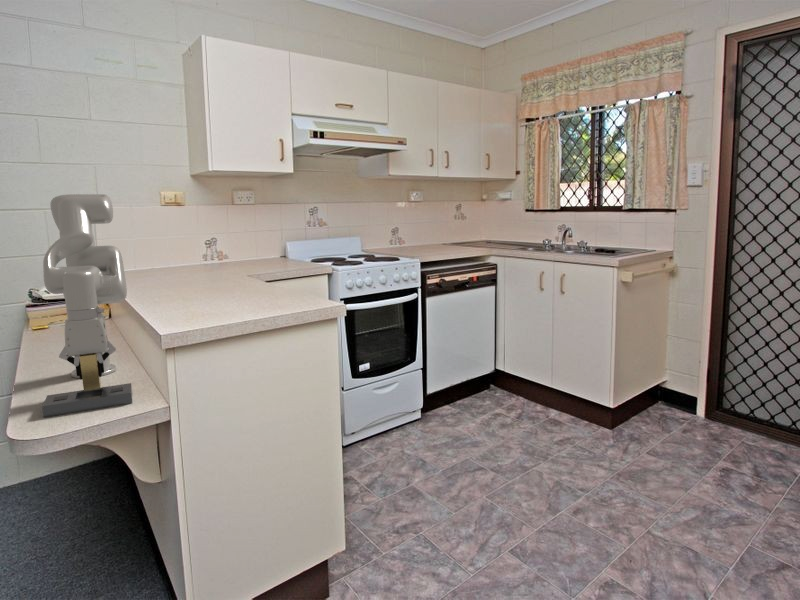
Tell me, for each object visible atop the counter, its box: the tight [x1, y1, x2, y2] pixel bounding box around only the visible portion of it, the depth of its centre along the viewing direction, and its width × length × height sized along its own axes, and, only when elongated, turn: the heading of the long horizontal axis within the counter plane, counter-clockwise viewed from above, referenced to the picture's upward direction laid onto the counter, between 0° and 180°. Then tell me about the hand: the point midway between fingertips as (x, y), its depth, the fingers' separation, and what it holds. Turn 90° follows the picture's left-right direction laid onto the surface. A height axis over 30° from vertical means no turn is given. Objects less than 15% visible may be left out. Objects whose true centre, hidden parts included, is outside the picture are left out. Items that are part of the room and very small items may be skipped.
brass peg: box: [79, 353, 102, 390], centre depth 149 cm, size 4×4×10 cm
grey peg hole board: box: [41, 382, 133, 419], centre depth 141 cm, size 9×20×3 cm, turn 117°
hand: (91, 376), depth 150 cm, fingers closed on brass peg, 4 cm apart
